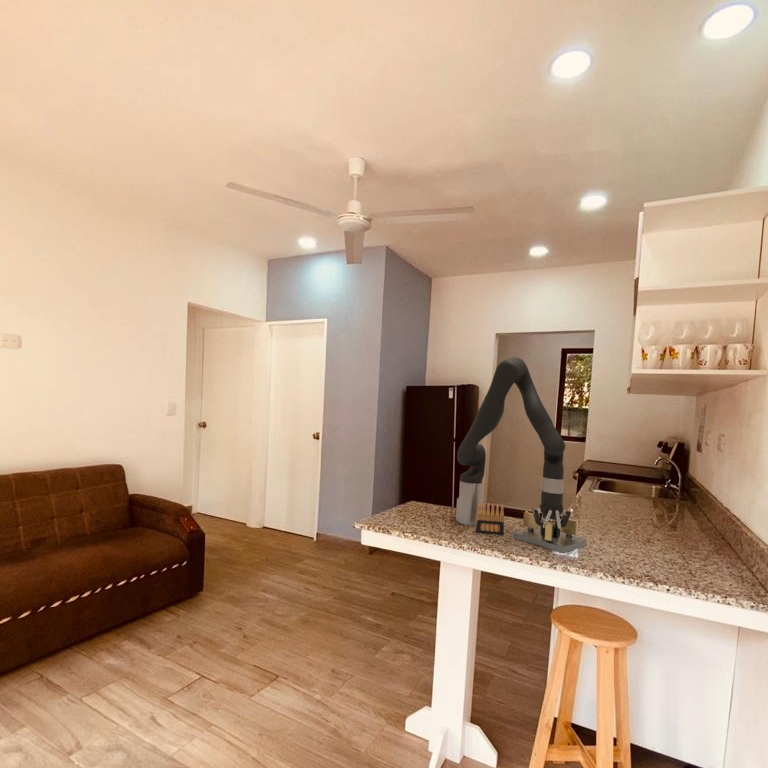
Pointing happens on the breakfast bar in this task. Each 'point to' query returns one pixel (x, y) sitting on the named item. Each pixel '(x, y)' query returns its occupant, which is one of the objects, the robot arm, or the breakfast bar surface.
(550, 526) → the knob front
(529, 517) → the block with orange knob
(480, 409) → the robot arm
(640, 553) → the breakfast bar surface
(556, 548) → the plate
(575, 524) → the cream rectangular block
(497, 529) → the ammunition clip
